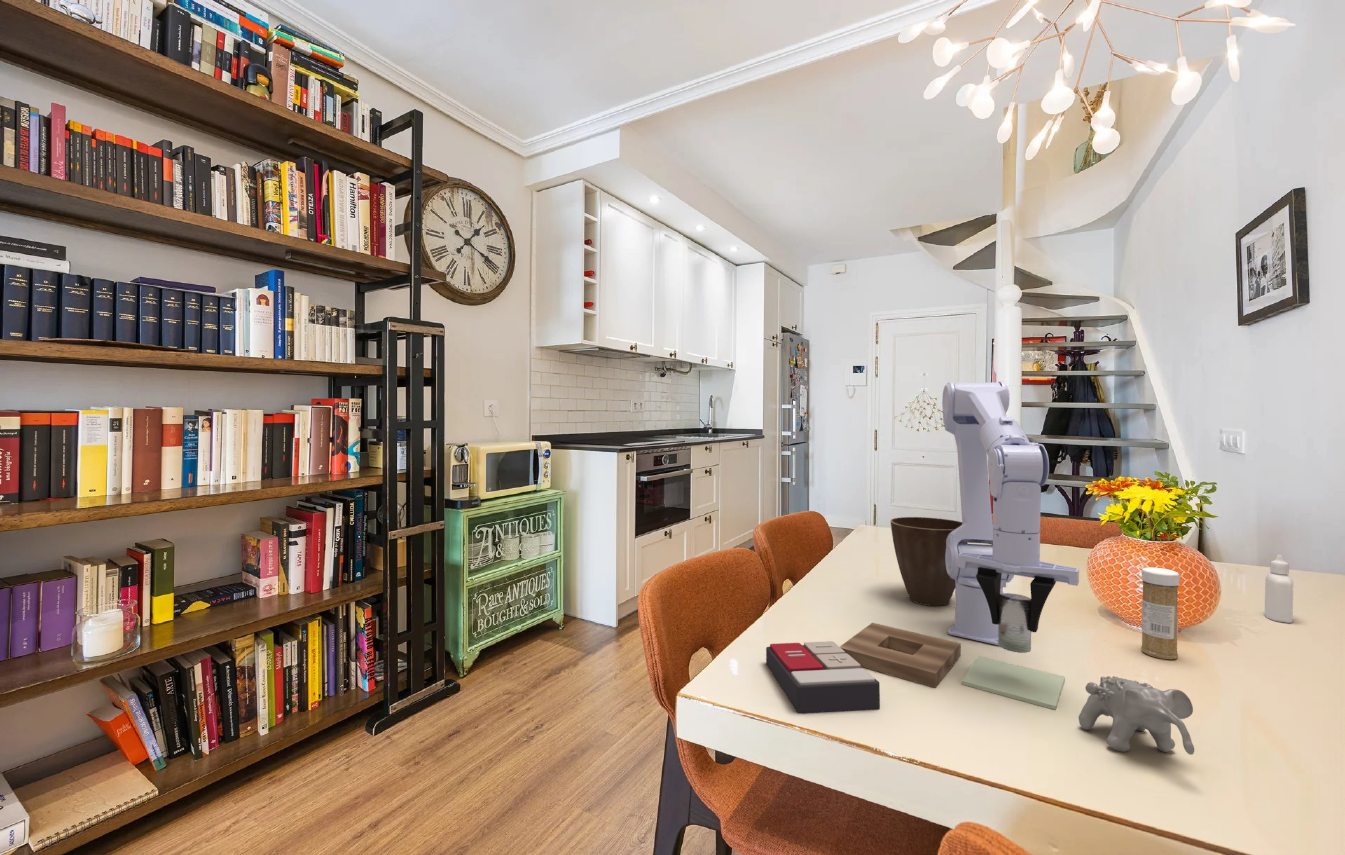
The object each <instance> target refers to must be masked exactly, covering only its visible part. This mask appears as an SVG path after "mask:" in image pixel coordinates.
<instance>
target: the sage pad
mask: <svg viewBox="0 0 1345 855" xmlns="http://www.w3.org/2000/svg"><path fill="white" fill-rule="evenodd" d="M1065 682H1066V676H1064V675H1060V674H1056V673H1051V672H1048V671H1045V670H1044V671H1043V670H1040V669H1036V668H1035V669H1034V668H1031V667H1027V666H1023V665H1019V664H1015V663H1012V662H1011V663H1010V662H1005V661H1003V660H998V659H994V658H989V657H986V656H981V655H978V657H977V658H976V659H975V661H974V662H973V664H971V667H970V668H969V669H968V671H967V672H966V673H965V675H964V677H963V678H962V680H961V685H963V686H967V687H970V688H974V689H977V690H981V691H985V692H989V693H992V694H996V695H1000V696H1003V697H1006V698H1010V699H1014V700H1018V701H1021V702H1025V703H1029V704H1033V705H1036V706H1040V707H1042V708H1043V707H1044V708H1047V709H1050V710H1055V711H1056V710H1057V707H1058V703H1059V701H1060V700H1059V699H1060V697H1061V694H1062V690H1063V688H1064V686H1065V685H1064V684H1065Z"/></svg>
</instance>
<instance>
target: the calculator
mask: <svg viewBox="0 0 1345 855" xmlns="http://www.w3.org/2000/svg"><path fill="white" fill-rule="evenodd" d="M765 652H766V653H765V656H766V657H765V660H766V662H765V664H766V667H767V668H768V670H769V669H770V670H769V671H770V673H771V672H772V673H771V674H772V676H773V677H774V678H775V680H776V682H777V683H778V684H779V686H780V687H781V688H782V691H784V693H785V694H786V697H787V699H788V702H790V704H791V705H792V708H793V709H794V710H795V711H796V713H798V714H801V715H803V714H805V715H806V714H821V713H822V714H823V713H824V714H825V713H843V712H844V713H845V712H857V711H858V712H859V711H860V712H861V711H862V712H863V711H876V710H877V711H878V710H880V709H881V697H880V696H881V691H880V690H881V689H880V681H878V680H877V679H876V678H875V677H874V676H873V675H872V674H870V672H868V671H867V670H866V668H865V669H864V667H861V665H860V664H859V663H858V662H857V661H855V660H854V659H853V658H852V657H851V656H850V655H848V654H847V653H845V651H844V650H843V649H841V648H840V646H839V645H838V644H837V643H836V642H834V641H830V640H829V641H809V642H808V641H807V642H803V644H801V643H800V642H785V643H784V642H783V643H780V642H779V643H770V644H769V646H767V647H766V649H765Z"/></svg>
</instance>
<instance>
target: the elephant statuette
mask: <svg viewBox="0 0 1345 855" xmlns="http://www.w3.org/2000/svg"><path fill="white" fill-rule="evenodd" d="M1099 681H1100V682H1099V684H1097V683H1095V682H1092V681H1091V682H1088V683H1087V684H1085V685H1086V686H1085V691H1086V693H1088V694H1090V695H1089V696H1088V697H1087V701H1086V702H1085V703H1084V705H1083V706H1082V709H1081V710H1080V712H1079V714H1078V723H1079V726H1080V727H1081V729H1083V730H1084V731H1091V729H1092V728H1093V727H1095V724H1096V722H1097V720H1098V718H1099V717H1100V716H1102V715H1103V716H1105V717H1111V718H1112V724H1111V725H1112V726H1111V731H1110V733H1109V734H1108V736H1107V737H1106V744H1107V745H1108V746H1109V747H1110V748H1111V749H1112V750H1115V751H1117V752H1122V753H1123V752H1127V751H1128V752H1129V750H1130V749H1131V744H1130V739H1131V737H1133V735H1134V733H1135V732H1136V731H1139V732H1144V731H1145V730H1147V731H1148V733H1149V734H1150V736H1151V737H1152V739H1153V740H1154V741H1155V744H1156V747H1157V749H1158V750H1159V751H1161V752H1163V753H1168V752H1170V751H1171V750H1173V749H1174V748H1175V746H1176V742H1175V740H1174V739H1173V738H1172V736H1171V735H1172V725H1175V727H1176V728H1178V731H1179V733H1180V735H1181V738H1182V739H1181V741H1182V745H1183V749H1184V751H1185V752H1186V753H1187V754H1188V755H1189V756H1190V755H1193V754H1194V753H1195V746H1194V744H1193V742H1192V737H1191V735H1190V732H1189V731H1188V728H1187V726H1186V725H1185V723H1184V722H1183V720H1185V719H1188V718H1189V717H1190V716H1192V715H1193V712H1194V707H1193V703H1192V701H1191V699H1190V697H1189V696H1188V695H1187V694H1186V693H1185V692H1183V690H1179V689H1176V688H1171V689H1166V690H1161V689H1158V688H1155V687H1153V686H1152V685H1151V684H1149V683H1146V682H1144V683H1142V682H1140V683H1139V681H1137V680H1135V679H1127V678H1122V677H1119V676H1114V675H1113V676H1112V677H1111V676H1109V675H1108V676H1104V675H1103V676H1100V680H1099Z"/></svg>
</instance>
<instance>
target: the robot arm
mask: <svg viewBox="0 0 1345 855" xmlns="http://www.w3.org/2000/svg"><path fill="white" fill-rule="evenodd" d="M942 391H943V392H942V399H941V400H942V402H941V403H942V404H941V405H942V419H943V420H942V422H943V425H944V430H945V431H946V432H948V433H949V434H952V435H953V437H954V440H955V445H956V450H957V464H958V467H957V468H958V479H959V482H958V483H959V491H960V493H959V494H960V495H959V496H960V506H961V507H960V508H961V522H962V525H961V526H960V527H958V528H957V529H955V530H954V531H952V532H951V533H950V534H949V535H948V537H947V539H946V554H945V562H946V570H947V573H948V575H949V576H950V577H951V578H952V579H955V590H954V593H955V594H954V604H955V605H954V624H953V625H952V626H951V627H950V628H949V629H948V630H947V634H948V635H952V636H956V637H961V638H965V639H969V640H973V641H978V642H982V643H985V644H986V643H987V644H991V645H995V646H999V645H998V613H999V594H1003V593H1004V591H1003V589H1004V588H1007V584H1008V583H1010V582H1012V580H1013V579H1014V577H1015V576H1018V577H1019V576H1020V577H1026V578H1033V579H1032V580H1031V582H1030V584H1029V585H1030V598H1031V617H1030V632H1031V633H1037V632H1038V630H1039V623H1040V618H1041V615H1042V611H1043V609H1044V606H1045V603H1046V601H1047V599H1048V597H1049V596H1050V594H1051V592H1052V590H1053V589H1054V586H1056V583H1057V582H1058V583H1065V584H1068V585H1070V586H1076V587H1077V586H1079V583H1080V568H1077V567H1070V566H1065V565H1059V564H1054V563H1051V562H1050V563H1049V562H1045V561H1041V556H1040V555H1041V507H1042V506H1041V502H1042V501H1041V498H1042V495H1041V494H1042V487H1043V486H1045V485H1046V483H1047V482H1048V479H1049V474H1050V462H1049V454H1048V452H1047V450H1046V448H1045V445H1044V444H1042V443H1036V442H1030V440H1029V438H1028V436H1027V435H1026V433H1025V432H1024V431H1023V429H1022V427H1021V425H1020V424H1019V422H1018V421H1017V420H1015V419H1014V418H1012V417H1011V416H1008V415H1007V413H1008V410H1009V407H1010V390H1009V387H1008V386H1007V384H1006V383H1005V382H1004V381H998V382H953V381H948V382H947V383H946V384H945V385H944V386H943V390H942ZM991 496H992V497H993V500H992V501H993V503H992V504H993V505H991ZM992 508H993V509H992ZM959 542H965V543H968V544H964V543H959Z"/></svg>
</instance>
